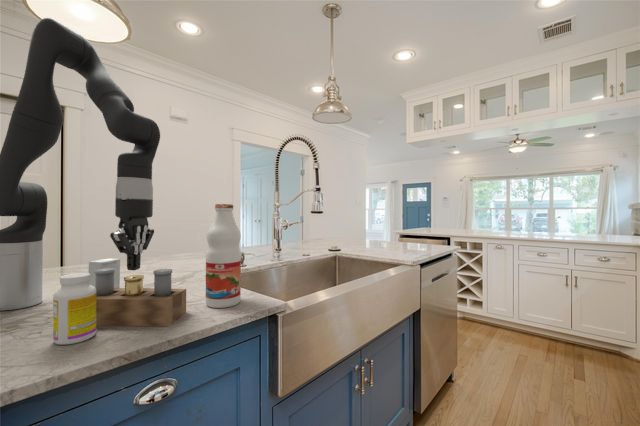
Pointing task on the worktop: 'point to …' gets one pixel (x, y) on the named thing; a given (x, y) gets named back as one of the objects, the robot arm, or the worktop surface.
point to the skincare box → (102, 265)
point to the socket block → (140, 308)
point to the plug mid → (133, 285)
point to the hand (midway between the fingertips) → (133, 269)
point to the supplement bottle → (74, 309)
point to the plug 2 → (162, 282)
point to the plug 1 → (104, 281)
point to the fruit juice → (223, 260)
